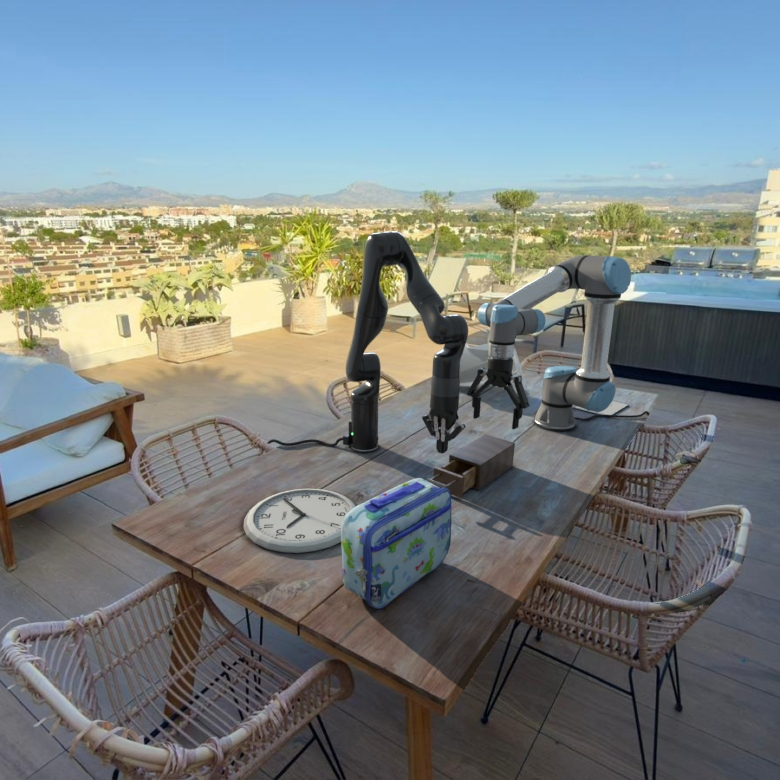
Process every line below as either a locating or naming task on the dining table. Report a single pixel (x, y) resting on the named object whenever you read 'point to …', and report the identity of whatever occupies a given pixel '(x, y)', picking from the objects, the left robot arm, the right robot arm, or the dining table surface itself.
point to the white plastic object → (482, 364)
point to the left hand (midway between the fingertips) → (441, 452)
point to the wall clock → (298, 520)
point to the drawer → (455, 477)
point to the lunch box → (395, 540)
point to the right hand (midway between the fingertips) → (495, 422)
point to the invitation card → (608, 408)
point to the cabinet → (486, 458)
